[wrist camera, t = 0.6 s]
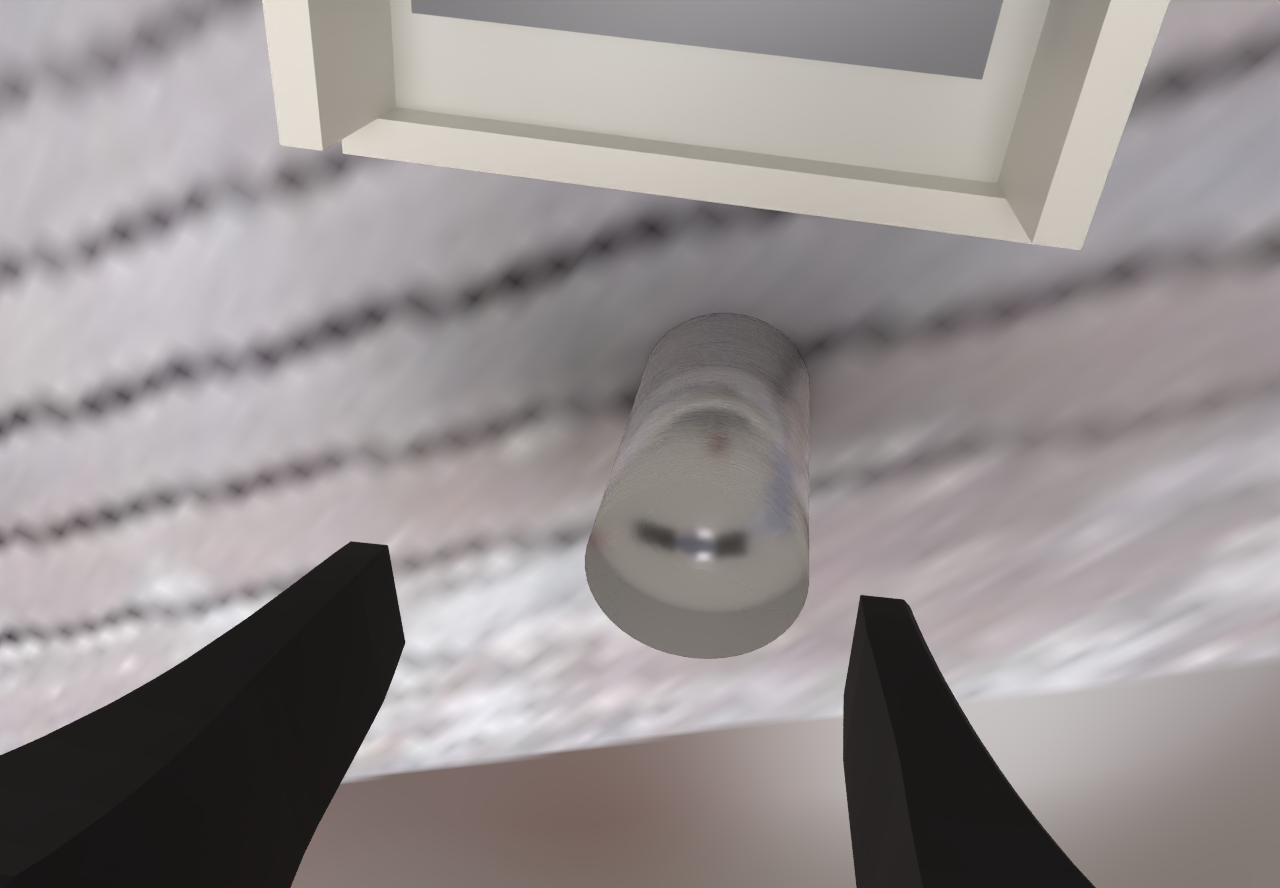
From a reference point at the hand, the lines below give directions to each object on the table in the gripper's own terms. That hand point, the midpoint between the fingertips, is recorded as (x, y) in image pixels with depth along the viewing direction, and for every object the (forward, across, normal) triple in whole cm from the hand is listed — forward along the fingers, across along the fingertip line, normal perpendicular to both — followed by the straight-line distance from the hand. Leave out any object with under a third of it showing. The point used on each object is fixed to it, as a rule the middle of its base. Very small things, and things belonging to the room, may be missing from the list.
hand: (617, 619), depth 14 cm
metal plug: (+9, -1, +1) cm, 9 cm away
